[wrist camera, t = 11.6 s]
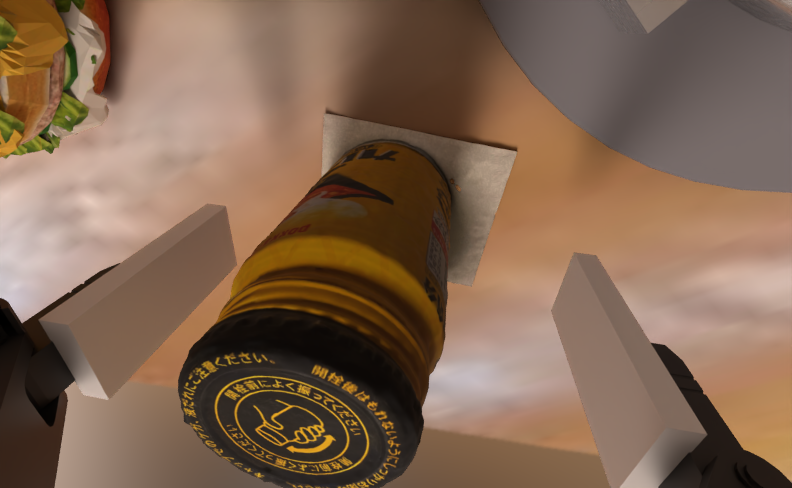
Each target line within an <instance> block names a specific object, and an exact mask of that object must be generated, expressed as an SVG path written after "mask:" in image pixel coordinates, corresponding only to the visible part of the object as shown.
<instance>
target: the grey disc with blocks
mask: <svg viewBox="0 0 792 488" xmlns="http://www.w3.org/2000/svg"><path fill="white" fill-rule="evenodd" d="M687 1H688V0H599V2H600V3H601V5H602V6H603V8H604V9H605V11H606V12H607V13H608V15H609V16H610V18H611V19H612V21H613V22H614V24H615V25H616V27H617V28H618V30H619V31H620V33H646V34H648V33H649V32H651V31H652V30H653V29H654V28H655V27H657V26H658V25H659V24H660V23H661V22H663V21H664V20H665V19H666V18H668V17H669V16H670V15H671V14H672V13H674V12H675V11H676V10H677V9H678V8H680V7H681V6H682V5H683V4H685V3H686V2H687ZM728 1H729V2H731V3H732V4H734V5H736V6H737V7H739V8H740V9H742V10H743V11H745V12H747V13H748V14H750V15H751V16H753V17H754V18H756V19H759V20H761V21H764V22H766V23H769V24H771V25H774V26H776V27H779V28H781V29H784V30H787V31H789V32H792V0H728Z"/></svg>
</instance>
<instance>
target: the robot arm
mask: <svg viewBox="0 0 792 488" xmlns="http://www.w3.org/2000/svg"><path fill="white" fill-rule="evenodd" d="M236 265H237V262H236V256H235V251H234V246H233V241H232V236H231V230H230V225H229V220H228V215H227V210H226V206H220V205H213V204H206V205H205V206H203V207H202V208H200V209H199V210H198V211H196V212H195V213H193V214H192V215H190V216H189V217H187V218H186V219H184V220H183V221H182V222H180V223H179V224H177V225H176V226H174V227H173V228H171V229H170V230H168V231H167V232H166V233H164V234H163V235H161V236H160V237H158V238H157V239H155V240H154V241H152V242H151V243H150V244H148V245H147V246H145V247H144V248H142V249H141V250H139V251H138V252H136V253H135V254H134V255H132V256H131V257H129V258H128V259H126V260H125V261H123V262H122V263H118V264H116V265H114V266H111V267H109V268H107V269H104V270H102V271H100V272H98V273H97V274H95V275H94V276H92V277H91V278H89V279H88V280H86V281H85V283H84V284H80V285H79V286H77V287H76V288H74V289H73V290H72V292H71V293H69V292H68V293H67V294H65V295H64V296H62V297H61V298H59V299H58V300H56V301H55V302H53V303H52V304H50V305H49V306H47V307H46V308H44V309H43V310H41V311H40V312H38V313H37V314H35V315H34V316H32V317H31V318H29V319H28V320H27V321H25V322H24V323H21V322H20V320H19V318H18V317H17V315H16V314H15V312H14V310H13V309H12V307H11V306H10V304H9V303H8V302H7V301H6V300H4V299H2V298H0V488H54V486H55V479H56V473H57V467H58V461H59V454H60V448H61V441H62V435H63V428H64V422H65V415H66V408H67V402H68V400H67V394H66V393H65V391H64V390H65V389H66V388H67V387H68V386H69V385H70V384H71V383H73V382H74V381H75V382H76V384H77V385H78V387H79V389H80V390H81V392H82V394H83V395H85V396H91V397H96V398H102V399H107V400H109V399H110V398H111V397H112V396H113V395H114V394H115V393H116V392H117V391H118V390H119V389H120V388H121V387H122V386H123V385H124V384H125V383H126V381H127V380H128V379H129V378H130V377H131V376H132V375H133V374H134V373H135V372H136V371H137V370H138V369H139V368H140V367H141V366H142V365H143V364H144V362H145V361H146V360H147V359H148V358H149V357H150V356H151V355H152V354H153V353H154V352H155V351H156V350H157V349H158V348H159V347H160V346H161V344H162V343H163V342H164V341H165V340H166V339H167V338H168V337H169V336H170V335H171V334H172V333H173V332H174V331H175V330H176V329H177V328H178V327H179V325H180V324H181V323H182V322H183V321H184V320H185V319H186V318H187V317H188V316H189V315H190V314H191V313H192V312H193V311H194V310H195V309H196V308H197V306H198V305H199V304H200V303H201V302H202V301H203V300H204V299H205V298H206V297H207V296H208V295H209V294H210V293H211V292H212V291H213V290H214V289H215V287H216V286H217V285H218V284H219V283H220V282H221V281H222V280H223V279H224V278H225V277H226V276H227V275H228V274H229V273H230V272H231V271H232V270H233V268H234V267H235V266H236ZM551 312H552V315H553V318H554V321H555V324H556V327H557V330H558V333H559V336H560V339H561V342H562V345H563V348H564V351H565V354H566V357H567V360H568V363H569V365H570V368H571V371H572V374H573V377H574V380H575V383H576V386H577V389H578V392H579V395H580V398H581V401H582V404H583V407H584V410H585V413H586V416H587V419H588V422H589V425H590V428H591V431H592V434H593V437H594V440H595V443H596V446H597V449H598V452H599V455H600V458H601V461H602V464H603V467H604V470H605V472H606V475H607V479H608V482H609V485H610V488H792V483H791V482H790V481H789V480H788V479H787V478H786V477H785V476H784V475H783V474H782V473H781V472H780V471H779V470H778V469H777V468H775V467H774V466H772V465H771V464H770V463H768V462H767V461H766V460H764V459H763V458H761V457H759V456H757V455H755V454H753V453H751V452H749V451H746V450H743V448H742V447H741V445H740V444H739V442H738V441H737V439H736V438H735V437H734V435H733V434H732V432H731V431H730V429H729V428H728V426H727V425H726V423H725V422H724V421H723V419H722V418H721V416H720V415H719V413H718V412H717V410H716V409H715V407H714V406H713V404H712V403H711V402H710V400H709V399H708V397H707V396H706V395H704V394H703V390H702V388H701V387H700V385H699V384H698V383H697V381H696V380H694V377H693V375H692V374H691V372H690V371H689V369H688V368H687V366H686V365H685V364H684V362H683V361H682V360H681V359H680V358H679V357H678V356H677V355H676V354H674V353H673V352H672V351H671V350H670V349H669V348H668V347H667V346H665V345H661V344H655V343H650V341H649V340H648V338H647V336H646V335H645V333H644V332H643V330H642V328H641V327H640V325H639V324H638V322H637V320H636V319H635V317H634V315H633V314H632V312H631V311H630V309H629V307H628V306H627V304H626V303H625V301H624V299H623V298H622V296H621V295H620V293H619V291H618V290H617V288H616V287H615V285H614V283H613V282H612V280H611V278H610V277H609V275H608V274H607V272H606V270H605V269H604V267H603V266H602V264H601V262H600V261H599V259H598V258H597V256H596V255H589V254H581V253H574V254H573V256H572V259H571V261H570V264H569V267H568V269H567V272H566V274H565V277H564V279H563V282H562V285H561V287H560V290H559V292H558V295H557V298H556V300H555V303H554V305H553V308H552V310H551Z"/></svg>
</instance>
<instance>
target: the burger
mask: <svg viewBox="0 0 792 488" xmlns="http://www.w3.org/2000/svg"><path fill="white" fill-rule="evenodd" d="M110 62H111V59H110V30H109V14H108V11H107V8H106V4H105V1H104V0H0V157H4V158H7V157H8V156H9V155H11V154H13V155H23V154H26V153H31V152H37V151H41V150H44V149H45V150H46V151H47V152H49V153H50V154H51V153H53V150H54V148H59V142H60V140H62V139H64V138H67V137H69V136H71V135H74V134H78V133H79V132H82V131H85V130H88V129H91V128H94V127H97V126H100V125H102V124H103V123H104V121H105V120H106V119H107V117H108V112H109V109H108V107H107V105H106V102H107V98H105V97H104V96H102V95H100V94H101V92H102V90H103V88H104V84H105V81H106V77H107V73H108V69H109V66H110Z"/></svg>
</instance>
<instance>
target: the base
mask: <svg viewBox="0 0 792 488" xmlns="http://www.w3.org/2000/svg"><path fill="white" fill-rule="evenodd" d="M479 2H480V4H481V6H482V8H483V10H484V11H485V13H486V15H487V17H488V19H489V20H490V22H491V24H492V26H493V28H494V30H495V31H496V33H497V35H498V37H499V39H500V41H501V42H502V44H503V46H504V47H505V49H506V50H507V51H508V53H509V54H510V55H511V57H512V58H513V59H514V61H515V62H516V63H517V65H518V66H519V67H520V69H521V70H522V71H523V73H524V74H525V75H526V76H527V78H528V79H529V80H530V82H531V83H532V84H533V85H534V86H535V87H536V88H537V89H538V90H539V91H540V92H541V93H542V94H543V95H544V96H545V97H546V98H547V99H548V100H549V101H550V102H551V103H552V104H553V105H554V106H555V107H556V108H557V109H558V110H559V111H560V112H561V113H562V114H564V115H565V116H566V117H567V118H568V119H569V120H571V121H572V122H573V123H575V124H576V125H578V126H579V127H581V128H582V129H583V130H585V131H586V132H588V133H589V134H590V135H592V136H593V137H595V138H596V139H598V140H599V141H600V142H602V143H603V144H605V145H606V146H608V147H609V148H611V149H613V150H615V151H617V152H619V153H621V154H623V155H626V156H628V157H630V158H632V159H634V160H636V161H638V162H640V163H642V164H644V165H646V166H648V167H650V168H653V169H657V170H660V171H663V172H666V173H669V174H672V175H675V176H679V177H682V178H685V179H688V180H691V181H695V182H700V183H706V184H712V185H717V186H723V187H729V188H734V189H740V190H752V191H770V192H788V193H792V32H789V31H787V30H784V29H781V28H779V27H776V26H774V25H771V24H769V23H766V22H764V21H761V20H759V19H756V18H754V17H753V16H751V15H750V14H748V13H747V12H745V11H743V10H742V9H740V8H739V7H737V6H736V5H734V4H732V3H731V2H729V1H728V0H688V1H687V2H686V3H685V4H683V5H682V6H681V7H680V8H678V9H677V10H676V11H675V12H674V13H672V14H671V15H670V16H669V17H668V18H666V19H665V20H664V21H663V22H661V23H660V24H659V25H658V26H657V27H655V28H654V29H653V30H652V31H651V32H649V33H648V34H646V33H620V31H619V30H618V28H617V27H616V25H615V24H614V22H613V21H612V19H611V18H610V16H609V15H608V13H607V12H606V11H605V9H604V8H603V6H602V5H601V3H600V2H599V0H479Z"/></svg>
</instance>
